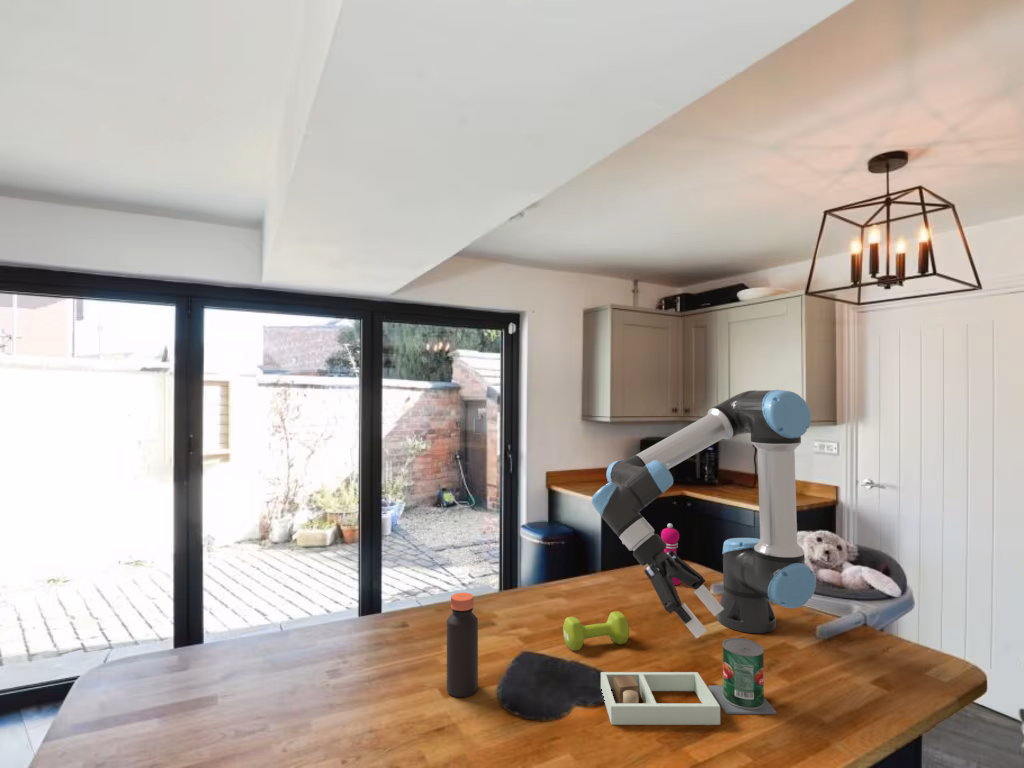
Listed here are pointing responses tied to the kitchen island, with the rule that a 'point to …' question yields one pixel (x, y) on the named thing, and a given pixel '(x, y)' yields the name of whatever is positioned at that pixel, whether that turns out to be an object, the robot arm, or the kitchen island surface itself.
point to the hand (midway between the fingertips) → (711, 623)
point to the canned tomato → (743, 673)
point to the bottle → (462, 647)
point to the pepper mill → (671, 543)
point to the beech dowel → (630, 696)
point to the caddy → (661, 711)
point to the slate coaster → (731, 709)
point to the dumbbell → (595, 630)
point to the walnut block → (624, 687)
